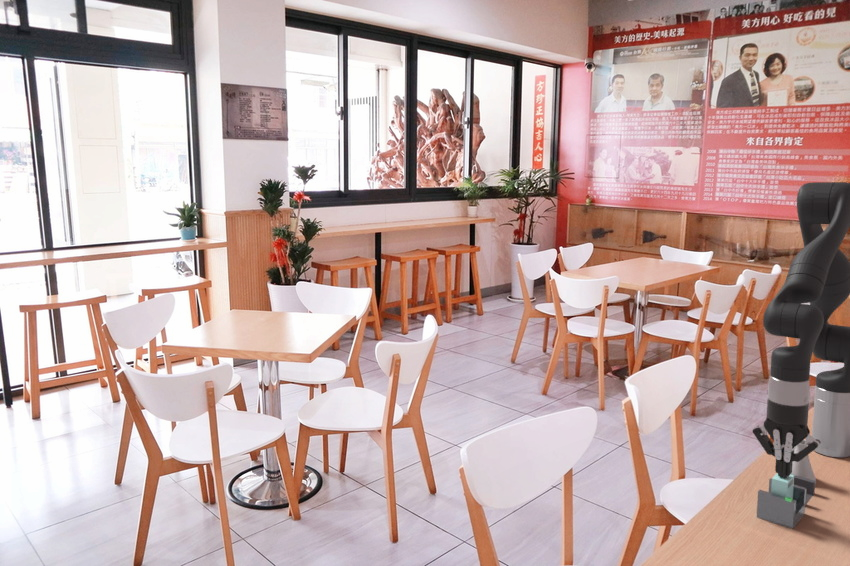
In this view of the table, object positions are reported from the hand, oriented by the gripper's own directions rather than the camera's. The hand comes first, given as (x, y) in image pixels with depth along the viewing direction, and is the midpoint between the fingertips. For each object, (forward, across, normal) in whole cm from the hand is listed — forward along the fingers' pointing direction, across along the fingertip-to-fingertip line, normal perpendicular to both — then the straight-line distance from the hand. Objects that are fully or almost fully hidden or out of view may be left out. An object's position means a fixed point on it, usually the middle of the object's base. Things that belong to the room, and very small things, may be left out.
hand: (783, 475), depth 138 cm
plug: (+8, 0, 0) cm, 8 cm away
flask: (+10, +2, -20) cm, 22 cm away
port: (+10, 0, 0) cm, 10 cm away
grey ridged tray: (+10, 0, -11) cm, 15 cm away
